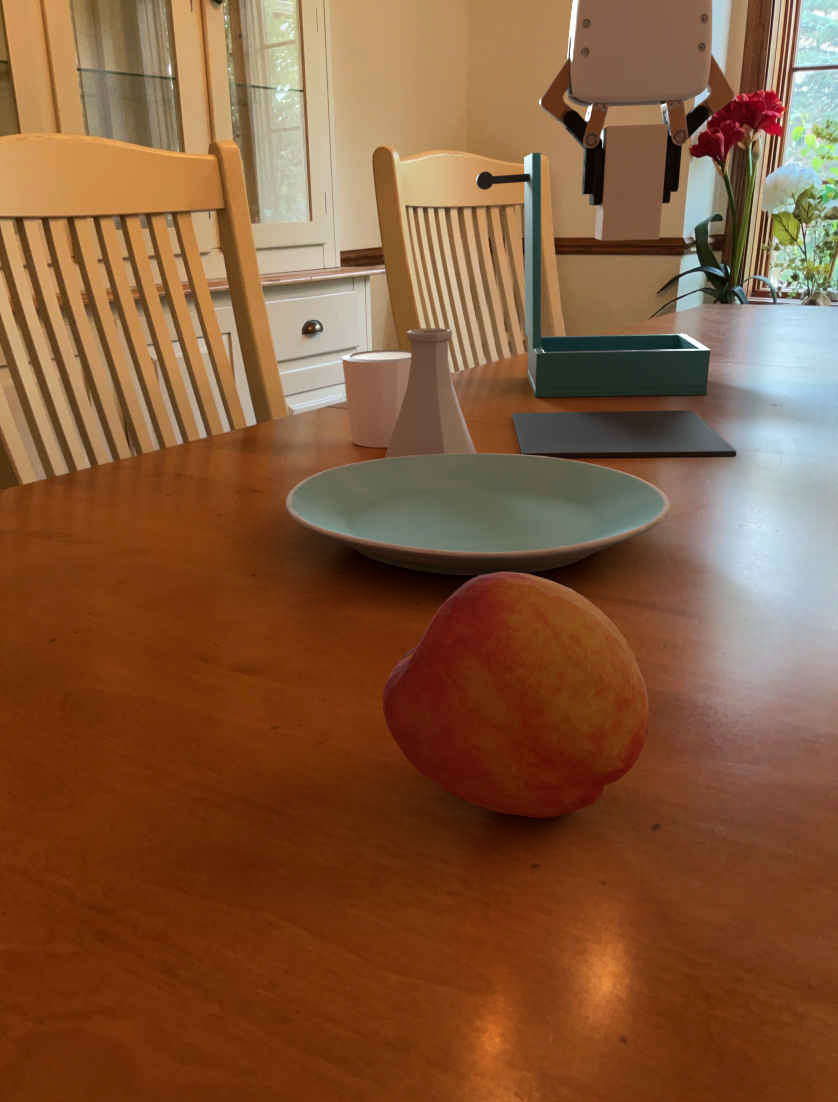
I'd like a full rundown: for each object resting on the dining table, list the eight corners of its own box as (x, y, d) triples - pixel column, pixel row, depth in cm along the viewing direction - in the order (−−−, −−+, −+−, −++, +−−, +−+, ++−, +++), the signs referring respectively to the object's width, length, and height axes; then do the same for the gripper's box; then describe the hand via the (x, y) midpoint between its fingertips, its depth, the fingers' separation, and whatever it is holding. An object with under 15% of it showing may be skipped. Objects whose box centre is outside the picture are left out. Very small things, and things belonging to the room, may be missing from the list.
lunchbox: (681, 374, 114) (684, 333, 112) (706, 394, 102) (710, 349, 100) (527, 376, 115) (528, 336, 113) (535, 397, 103) (536, 353, 102)
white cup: (380, 453, 83) (378, 363, 80) (328, 440, 88) (324, 355, 85) (443, 439, 87) (443, 353, 84) (389, 428, 92) (388, 346, 89)
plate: (542, 475, 75) (543, 436, 74) (751, 565, 56) (757, 514, 55) (244, 514, 68) (241, 471, 67) (368, 633, 49) (367, 576, 48)
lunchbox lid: (532, 156, 106) (475, 160, 107) (541, 152, 95) (477, 157, 96) (532, 332, 113) (478, 335, 114) (540, 348, 102) (481, 351, 102)
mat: (692, 414, 93) (692, 410, 93) (736, 456, 79) (736, 450, 79) (512, 417, 95) (512, 412, 95) (522, 458, 80) (522, 453, 80)
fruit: (484, 719, 41) (488, 522, 38) (678, 787, 36) (701, 566, 33) (349, 805, 35) (340, 582, 32) (556, 898, 30) (569, 646, 27)
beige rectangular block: (650, 237, 84) (658, 127, 81) (659, 239, 80) (668, 123, 77) (594, 238, 85) (600, 129, 81) (601, 240, 81) (607, 125, 77)
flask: (494, 462, 79) (497, 326, 75) (452, 485, 73) (453, 338, 70) (410, 453, 83) (408, 323, 79) (364, 474, 77) (360, 335, 73)
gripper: (755, -67, 77) (728, 200, 84) (524, -55, 79) (517, 206, 86) (783, -93, 70) (752, 201, 77) (530, -79, 72) (521, 207, 79)
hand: (628, 201), depth 81 cm, fingers closed on beige rectangular block, 4 cm apart
